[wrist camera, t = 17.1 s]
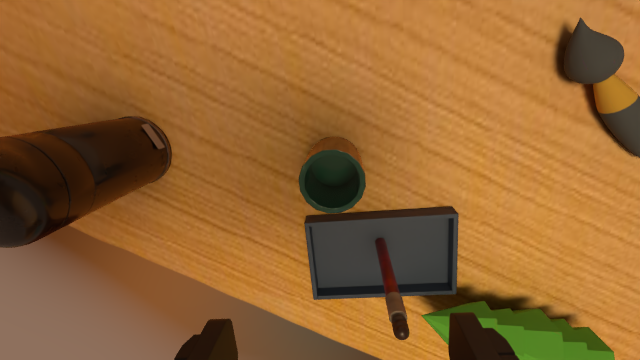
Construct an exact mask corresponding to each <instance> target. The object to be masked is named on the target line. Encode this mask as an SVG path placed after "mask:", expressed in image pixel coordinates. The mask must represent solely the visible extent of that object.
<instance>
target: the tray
mask: <svg viewBox="0 0 640 360" xmlns="http://www.w3.org/2000/svg"><path fill="white" fill-rule="evenodd" d="M305 232H306V240H307V248H308V257H309V265H310V273H311V282H312V290H313V298H314V300H319V299H344V298H370V297H386V295H385V290H384V285H383V280H382V275H381V270H380V265H379V260H378V255H377V250H376V245H375V241H376V239H378V238H383V239H385V241H386V245H387V249H388V252H389V256H390V260H391V263H392V267H393V271H394V274H395V278H396V282H397V285H398V289H399V293H400V295H401V296H421V295H446V294H456V288H457V248H458V213H457V212H456V211H455V209H454V208H453V207H438V208H422V209H407V210H391V211H375V212H360V213H344V214H328V215H313V216H306V220H305Z"/></svg>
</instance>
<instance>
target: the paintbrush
mask: <svg viewBox="0 0 640 360" xmlns="http://www.w3.org/2000/svg"><path fill="white" fill-rule="evenodd" d="M623 59H624V49H623V47H622V45H621V44H620V43H619V42H618V41H617V40H615V39H614V38H612V37H609V36H607V35H604V34H601V33H598V32H596V31H593V30H591V29H590V28H589V27H588V26H587V25H586V24H585V23H584V21H583V20H582V19H581V18H580V19H579V22H578V24H577V26H576V28H575V30H574V32H573V34H572V36H571V38H570V40H569V42H568V45H567V48H566V52H565V57H564V70H565V73H566V75H567V76H568V77H569V78H570V79H571V80H573V81H575V82H578V83H582V84H593V89H594V96H595V102H596V106H597V110H598V113H599V115H600V116H601V118H602V120H603V121H604V123H605V124H606V126H607V127H608V128H609V130H610V131H611V132H612V133H613V135H614V136H615V137H616V138H617V139H618V140H619V141H620V142H621V143H622V144H623V145H624V146H625V147H626V148H627V149H628V150H629V151H630V152H632V153H633V154H634V155H636V156H638V157H640V97H639V95H638V94H637V93H636V92H635V91H634V90H633V89H632V88H631V87H629V86H628V85H627V84H626V83H625V82H623V81H622V80H621V79H620V78H618V77H617V76H616V75H614V73H615V72H616V71H617V70H618V69H619V67H620V66H621V64H622V62H623Z"/></svg>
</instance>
